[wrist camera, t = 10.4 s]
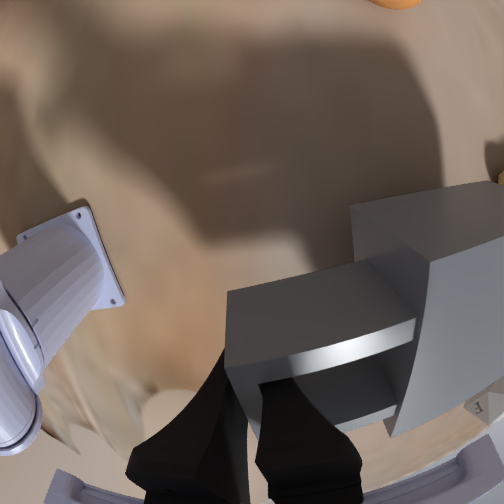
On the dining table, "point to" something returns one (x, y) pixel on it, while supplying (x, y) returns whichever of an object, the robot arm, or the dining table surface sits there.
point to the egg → (396, 3)
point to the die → (488, 403)
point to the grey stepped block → (383, 315)
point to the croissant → (501, 178)
